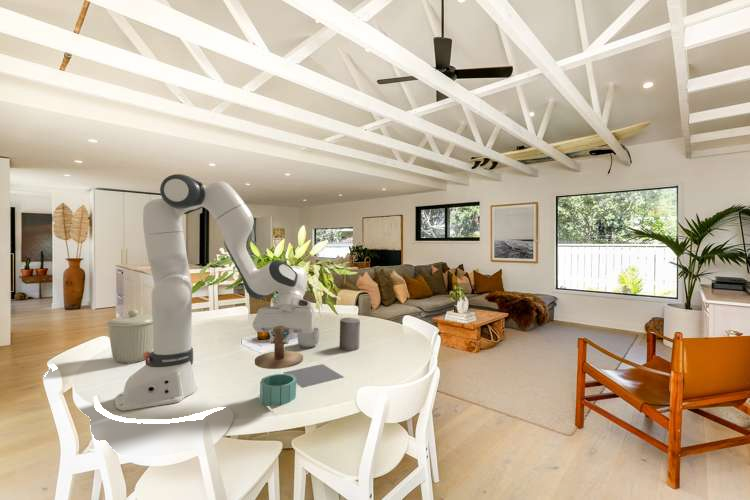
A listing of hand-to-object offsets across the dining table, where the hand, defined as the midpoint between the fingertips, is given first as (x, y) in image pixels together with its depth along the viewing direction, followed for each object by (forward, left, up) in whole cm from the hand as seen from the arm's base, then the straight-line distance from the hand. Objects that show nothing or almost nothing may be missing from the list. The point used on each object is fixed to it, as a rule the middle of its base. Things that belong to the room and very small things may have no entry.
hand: (278, 343), depth 113 cm
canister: (-36, +70, -18) cm, 81 cm away
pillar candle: (+49, +34, -18) cm, 63 cm away
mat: (+18, +11, -18) cm, 28 cm away
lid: (0, 0, -6) cm, 6 cm away
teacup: (+35, +49, -18) cm, 63 cm away
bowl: (0, 0, -18) cm, 18 cm away
